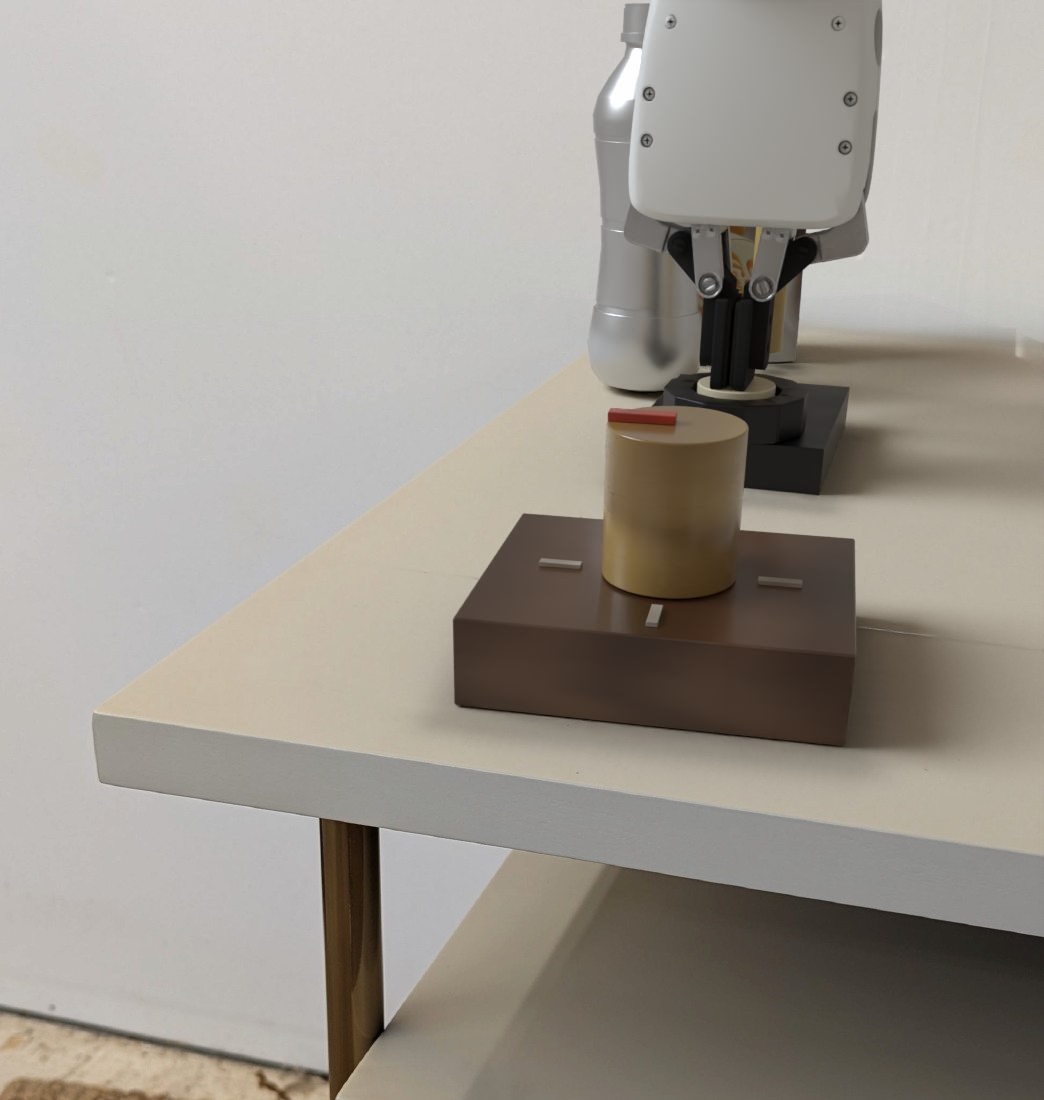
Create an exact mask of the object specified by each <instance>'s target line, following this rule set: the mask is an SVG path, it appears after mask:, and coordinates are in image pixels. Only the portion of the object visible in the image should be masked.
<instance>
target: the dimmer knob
mask: <svg viewBox="0 0 1044 1100" xmlns="http://www.w3.org/2000/svg"><path fill="white" fill-rule="evenodd" d="M605 425H606V426H605V453H604V481H603V483H604V485H603V487H604V488H603V511H602V513H603V514H602V519H603V539H602V568H601V569H602V574H603V576H604V578H605V579H606V580H607V581H608V582H609V583H610V584H612V585H613V586H615V587H617V588H619V589H621V590H624V591H627V592H630V593H633V594H638V595H642V596H648V597H655V598H666V599H687V598H697V597H704V596H708V595H713V594H716V593H719V592H721V591H724V590H725V589H727V588H729V587H730V586H731V585H732V584H733V583H734V582H735V580H736V576H737V564H738V552H739V540H740V530H741V529H742V528H741V527H742V517H743V516H742V514H743V502H744V490H745V488H744V480H745V468H746V456H747V444H748V431H749V428H748V425H747V423H746V422H745V421H743V420H742V419H740V418H738V417H736V416H733V415H731V414H728V413H725V412H721V411H717V410H711V409H705V408H698V407H687V406H653V407H651V406H641V407H635V408H622V407H621V408H620V407H619V408H618V407H610V408H609V410H608V412H607V421H606V424H605Z"/></svg>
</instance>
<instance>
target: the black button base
mask: <svg viewBox="0 0 1044 1100" xmlns="http://www.w3.org/2000/svg"><path fill="white" fill-rule="evenodd" d="M710 373H711V372H698V373H697V374H696V373H695V374H691V375H688V374H680V375H679V376H678V378H674V379H671V380H670V381H669V382H668V384H667V385H666V386H665V387H664V390H663V392H662V394H661V395H659V397H658V398H657V399H656V400H655V402H654V403H653V404H651V406H650V407H653V406H687V407H698V408H705V409H711V410H717V411H721V412H725V413H728V414H731V415H733V416H736V417H738V418H740V419H742V420H743V421H745V422H746V423H747V425H748V428H749V431H748V444H747V456H746V468H745V480H744V489H749V490H761V491H770V492H781V493H789V494H801V495H812V496H820V494H821V492H822V489H823V487H824V484H825V481H826V479H827V476H828V473H829V471H830V468H831V466H832V463H833V460H834V458H835V455H836V452H837V450H838V448H839V444H840V442H841V440H842V437H843V434H844V431H845V429H846V425H847V415H848V407H849V399H850V398H849V397H850V389H851V388H850V387H849V386H841V385H828V384H815V383H803V382H802V383H801V382H797V381H795V380H793V379H788V378H784V377H781V376H780V377H779V376H775V375H771V374H765V373H756V372H755V375H754V376H756V377H761V378H765V379H768V380H770V381H772V382H774V383H775V385H776V390H775V396H774V397H771V398H767V399H754V400H733V399H721V398H714V397H709V396H705V395H701V394H698V393H697V385H698V381H699V380H700V379H702V378H704V377H708V376H710Z"/></svg>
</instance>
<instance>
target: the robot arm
mask: <svg viewBox="0 0 1044 1100" xmlns="http://www.w3.org/2000/svg"><path fill="white" fill-rule="evenodd" d="M649 3H650V6H649V11H648V17H647V22H646V27H645V34H644V40H643V46H642V53H641V60H640V67H639V74H638V81H637V89H636V97H635V105H634V113H633V122H632V132H631V143H630V156H629V195H630V200H631V204H630V208H629V212H628V215H627V219H626V223H625V226H624V232H623V233H624V237H625V239H626V240H627V241H628V242H630V243H632V244H635V245H638V246H641V247H644V248H647V249H650V250H653V251H656V252H659V253H665V254H668V255H671V256H672V258H673V259H674V260H675V261H676V262H677V264H678V265H679V266H680V267H681V268H682V270H683V271H684V272H685V273H686V274H687V275H688V277H689V278H690V279H691V280H692V281H693V283H694V284H695V285H696V290H697V292H698V293H699V294H700V295H701V296H702V297H704V298H703V312H702V326H701V341H700V356H699V362H700V366H709V367H710V372H709V373H710V388H711V389H722V388H723V387H726V386H727V385H728V384H729V387H733V390H735V391H745V390H746V389H747V387H748V386H749V384H750V383H751V381H752V380H753V378H754V375H755V373H756V370H757V371H758V370H760V371H766V370H767V368H768V366H769V362H768V361H769V354H770V343H771V333H772V322H773V311H774V300H775V294H776V293H778V292H779V291H780V290H781V289H782V288H783V287H784V286H786V285H787V284H788V283H789V282H790V281H791V280H792V279H794V278H795V277H796V276H797V275H798V274H799V273H800V272H802V271H803V272H804V270H805V269H807V268H808V266H810V265H814V264H819V263H820V264H821V263H826V262H832V261H837V260H843V259H848V258H854V257H857V256H859V255H862V254H863V253H864V252H865V251H866V249H867V248H868V245H869V243H870V235H869V225H868V217H867V209H866V203H867V201H868V198H869V194H870V191H871V183H872V178H873V172H874V162H875V154H876V143H877V133H878V132H877V131H878V120H879V119H878V118H879V106H880V91H881V77H882V62H883V61H882V60H883V57H882V56H883V29H884V28H883V25H884V24H883V23H884V22H883V0H650V1H649ZM674 222H676V223H690V224H691V227H684V226H681V225H678V224H675V223H674ZM730 226H745V227H762V232H761V236H760V240H759V245H758V249H757V253H756V257H755V262H754V266H753V270H752V275H751V279H750V280H749V281H748V282H747V283H746V284H745V285H744V291H743V297H742V293H739V289H737V278H736V277H735V276H734V275H733V269H732V253H731V238H730ZM797 229H806V230H819V231H813V232H806V233H805V234H801V235H800V236H798V237H797V238H796V239H795V235H796V231H797Z"/></svg>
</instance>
